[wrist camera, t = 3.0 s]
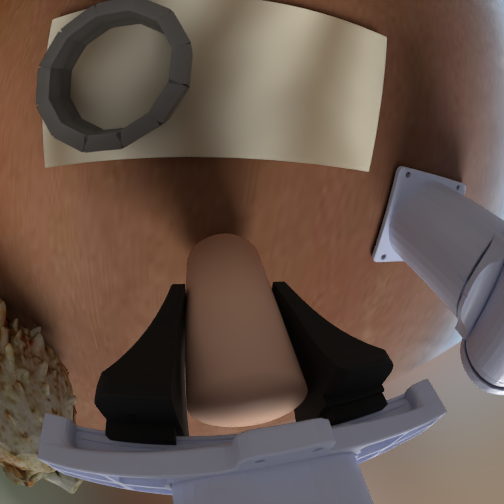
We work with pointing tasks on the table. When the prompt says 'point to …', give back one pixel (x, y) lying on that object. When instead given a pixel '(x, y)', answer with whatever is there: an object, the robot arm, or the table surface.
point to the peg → (236, 338)
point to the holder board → (210, 83)
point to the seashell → (30, 402)
